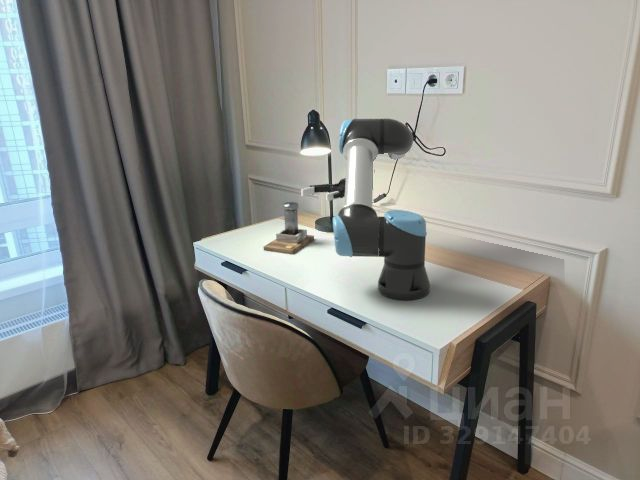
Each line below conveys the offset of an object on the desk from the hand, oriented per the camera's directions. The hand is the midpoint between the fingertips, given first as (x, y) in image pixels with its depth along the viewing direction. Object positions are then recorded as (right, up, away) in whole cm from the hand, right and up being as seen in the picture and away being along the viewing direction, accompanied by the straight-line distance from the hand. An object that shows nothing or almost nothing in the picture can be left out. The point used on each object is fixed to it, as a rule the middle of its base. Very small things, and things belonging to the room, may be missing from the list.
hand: (313, 195), depth 185 cm
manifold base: (-9, -19, -2) cm, 21 cm away
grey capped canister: (-8, -17, -1) cm, 19 cm away
